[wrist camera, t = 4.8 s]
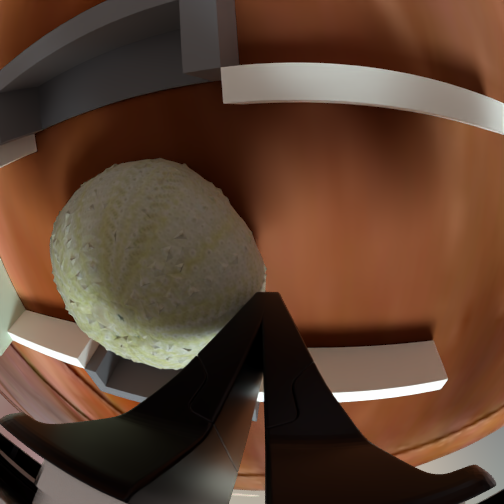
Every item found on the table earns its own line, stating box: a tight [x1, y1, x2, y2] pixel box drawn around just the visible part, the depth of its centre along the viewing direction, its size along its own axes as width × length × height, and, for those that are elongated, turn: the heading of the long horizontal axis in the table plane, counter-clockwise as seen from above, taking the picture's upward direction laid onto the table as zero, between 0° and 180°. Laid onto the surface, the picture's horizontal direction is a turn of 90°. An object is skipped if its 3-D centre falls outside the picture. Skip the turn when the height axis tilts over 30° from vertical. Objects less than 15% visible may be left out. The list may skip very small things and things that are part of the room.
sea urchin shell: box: [50, 158, 267, 370], centre depth 11 cm, size 9×8×8 cm
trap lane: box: [0, 0, 504, 421], centre depth 11 cm, size 31×20×3 cm, turn 95°
